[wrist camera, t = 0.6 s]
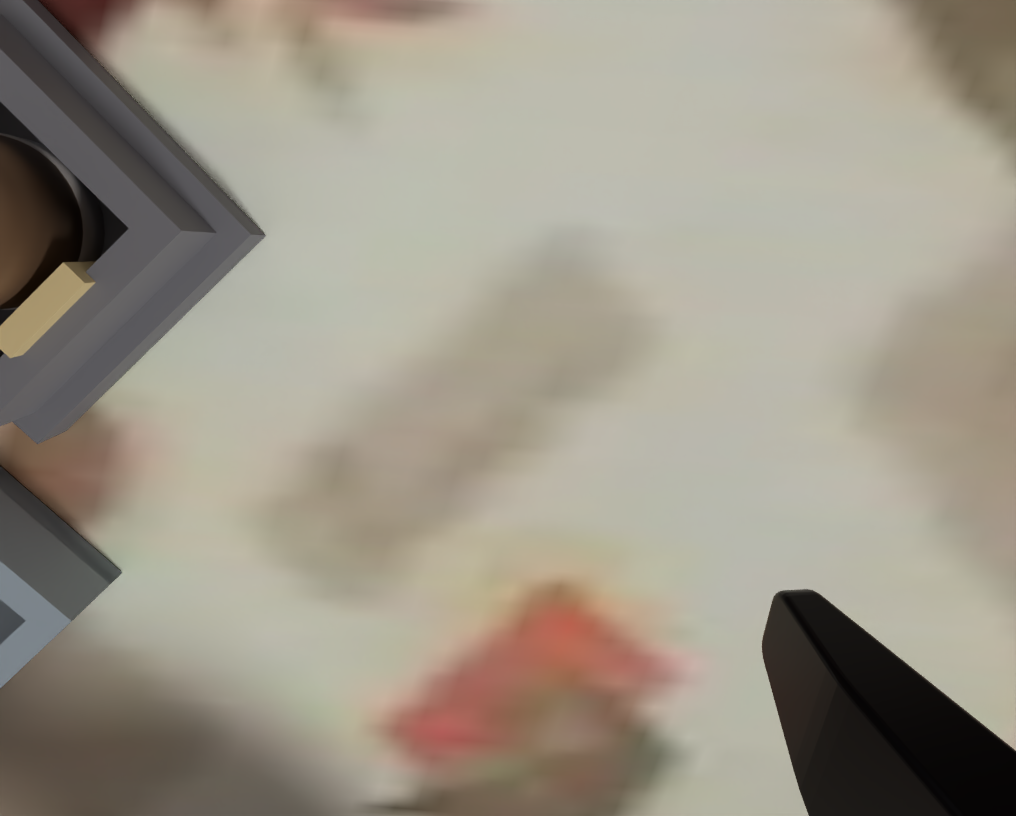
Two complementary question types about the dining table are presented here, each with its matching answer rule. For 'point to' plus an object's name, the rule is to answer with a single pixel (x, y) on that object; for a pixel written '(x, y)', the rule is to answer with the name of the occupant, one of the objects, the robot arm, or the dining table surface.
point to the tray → (40, 575)
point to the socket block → (127, 227)
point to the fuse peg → (41, 219)
